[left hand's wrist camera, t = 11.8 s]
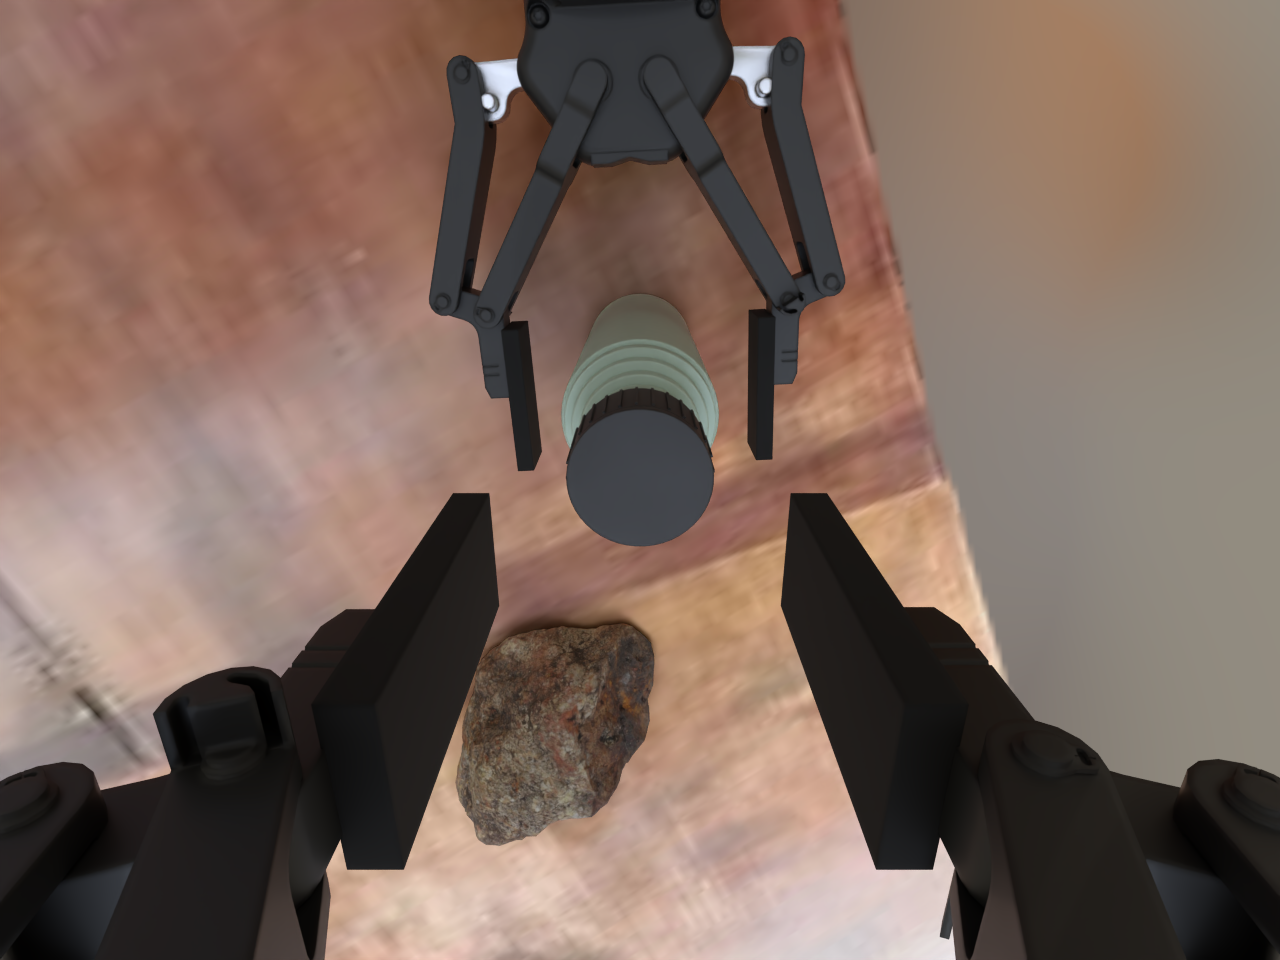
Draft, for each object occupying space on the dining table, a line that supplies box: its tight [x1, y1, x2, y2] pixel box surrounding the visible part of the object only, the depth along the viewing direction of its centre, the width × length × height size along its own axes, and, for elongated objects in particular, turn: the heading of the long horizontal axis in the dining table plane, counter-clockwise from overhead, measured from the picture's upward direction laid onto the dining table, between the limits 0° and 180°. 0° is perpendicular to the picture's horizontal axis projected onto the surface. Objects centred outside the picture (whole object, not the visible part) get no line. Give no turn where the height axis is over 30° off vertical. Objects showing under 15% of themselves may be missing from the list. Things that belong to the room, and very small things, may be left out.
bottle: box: [561, 294, 719, 448], centre depth 28 cm, size 6×6×20 cm
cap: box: [566, 387, 715, 546], centre depth 19 cm, size 4×4×2 cm
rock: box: [456, 623, 654, 846], centre depth 42 cm, size 14×9×10 cm
